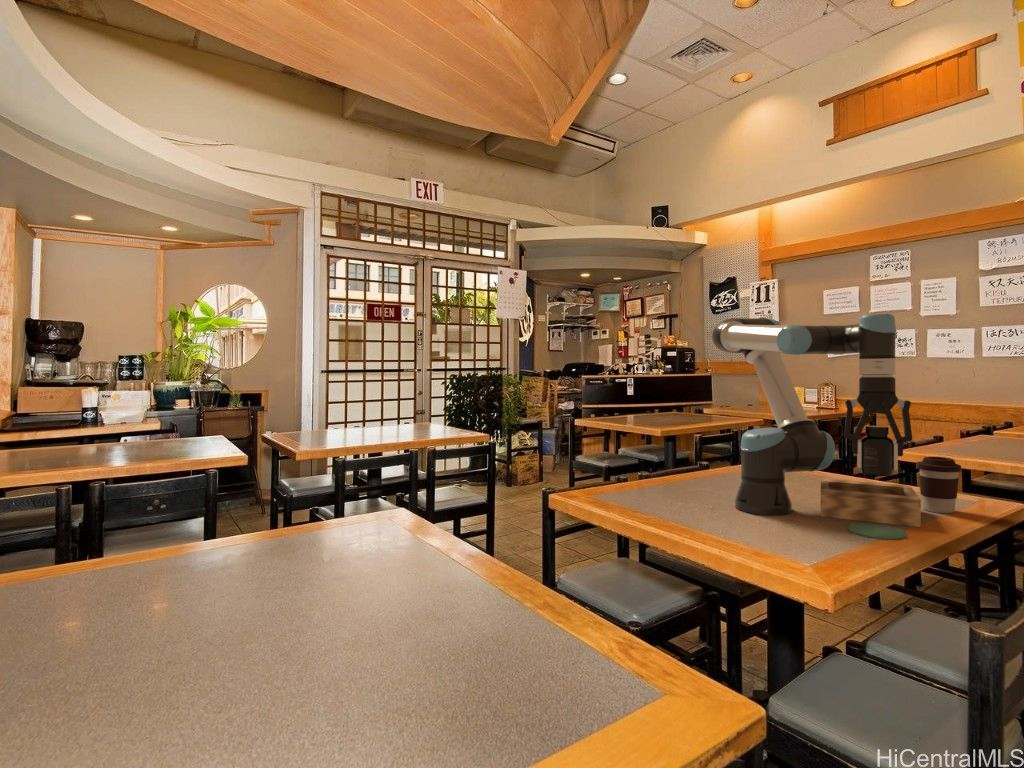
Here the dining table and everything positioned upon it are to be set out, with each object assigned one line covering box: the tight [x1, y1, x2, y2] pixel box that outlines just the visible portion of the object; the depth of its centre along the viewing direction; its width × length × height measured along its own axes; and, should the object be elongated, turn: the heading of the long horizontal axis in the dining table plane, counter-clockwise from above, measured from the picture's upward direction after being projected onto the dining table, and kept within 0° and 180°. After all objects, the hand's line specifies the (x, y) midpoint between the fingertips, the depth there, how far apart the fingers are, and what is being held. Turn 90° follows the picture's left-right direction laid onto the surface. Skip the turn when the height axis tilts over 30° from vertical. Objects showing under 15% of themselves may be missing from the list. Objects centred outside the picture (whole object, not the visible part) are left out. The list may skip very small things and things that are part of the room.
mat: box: [847, 522, 907, 541], centre depth 137 cm, size 12×12×1 cm
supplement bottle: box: [860, 425, 894, 477], centre depth 136 cm, size 7×7×12 cm
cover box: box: [820, 478, 922, 528], centre depth 154 cm, size 22×19×7 cm
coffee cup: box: [916, 456, 962, 514], centre depth 156 cm, size 10×10×15 cm
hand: (876, 468), depth 136 cm, fingers closed on supplement bottle, 7 cm apart
